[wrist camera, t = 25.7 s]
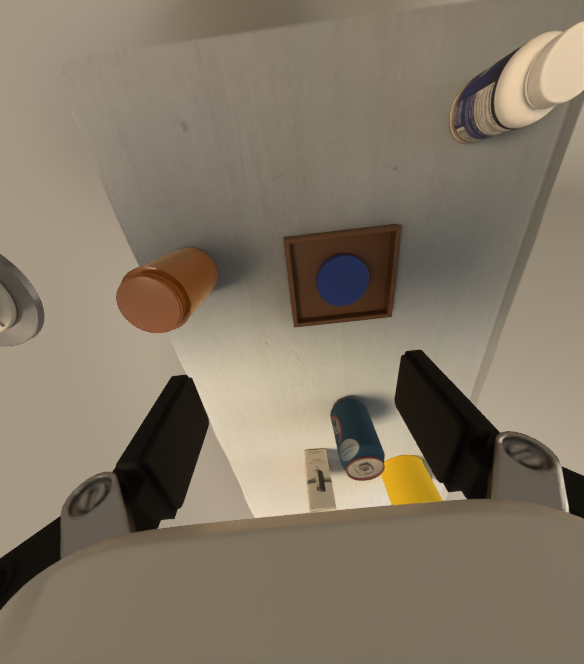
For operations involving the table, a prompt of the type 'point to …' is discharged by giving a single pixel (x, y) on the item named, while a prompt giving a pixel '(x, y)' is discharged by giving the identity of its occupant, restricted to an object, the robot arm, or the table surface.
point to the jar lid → (342, 279)
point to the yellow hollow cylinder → (408, 481)
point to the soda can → (357, 440)
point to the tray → (313, 249)
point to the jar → (167, 290)
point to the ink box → (319, 481)
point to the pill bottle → (521, 86)
